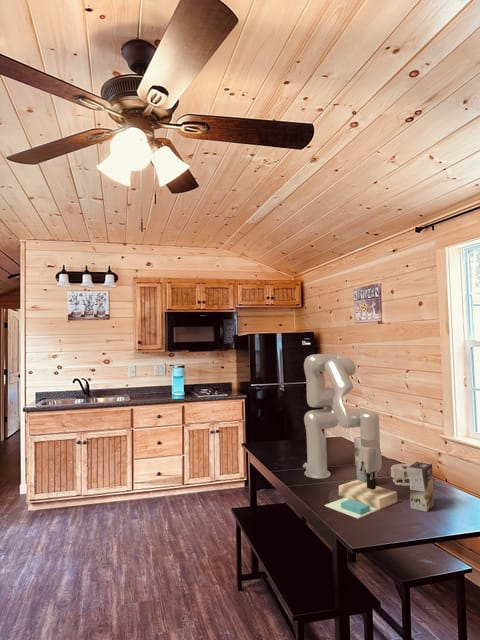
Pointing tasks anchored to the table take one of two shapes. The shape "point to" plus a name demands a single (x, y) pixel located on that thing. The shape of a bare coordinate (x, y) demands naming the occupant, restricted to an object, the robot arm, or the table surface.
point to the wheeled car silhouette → (400, 473)
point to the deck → (368, 494)
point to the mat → (337, 506)
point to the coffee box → (421, 486)
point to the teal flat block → (355, 506)
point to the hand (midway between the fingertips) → (371, 488)
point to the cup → (360, 474)
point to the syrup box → (357, 447)
